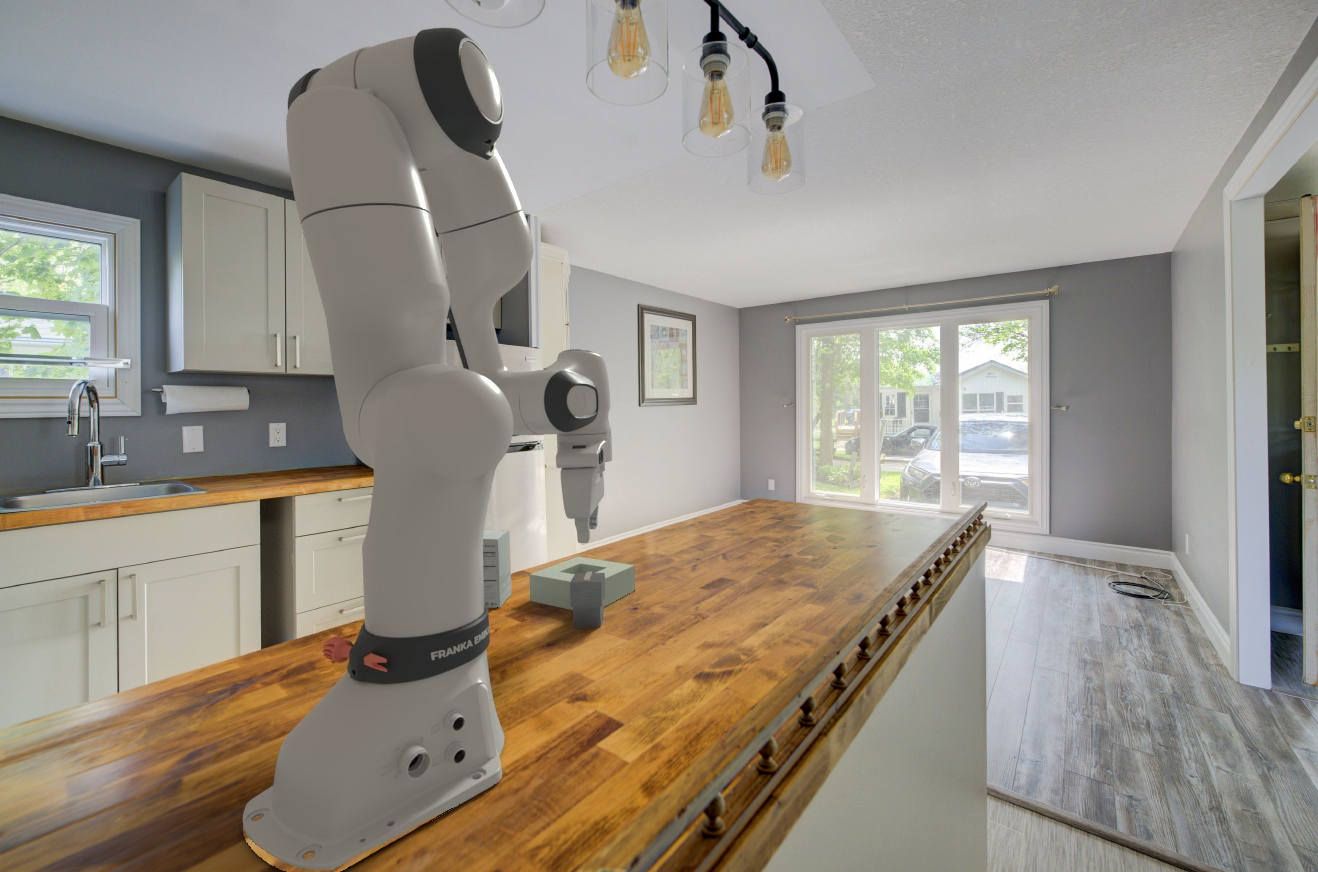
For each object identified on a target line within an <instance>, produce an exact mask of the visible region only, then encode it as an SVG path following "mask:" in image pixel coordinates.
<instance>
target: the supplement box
mask: <svg viewBox="0 0 1318 872" xmlns="http://www.w3.org/2000/svg"><path fill="white" fill-rule="evenodd" d="M510 536H511V535H510V530H508V529H507V530H506V529H488V530H487V529H486V530H485V529H484V534H483V583H484V605H485V606H486V607H487V608H488V609H499V608H501V607H502V606H503V604H504V603H505V602H506V601H507V600H508V599H509V598H510V597H511V595H512V569H511V567H512V566H511V543H510V542H511V541H510V538H511V537H510ZM497 607H498V608H497Z"/></svg>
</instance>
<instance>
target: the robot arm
mask: <svg viewBox="0 0 1318 872" xmlns="http://www.w3.org/2000/svg"><path fill="white" fill-rule="evenodd" d="M503 99H504V98H503V94H502V90H501V86H500V83H499V81H498V78H497V75H496V73H495V70H494V68H493V66H492V64H491V62H490V60H489V59H488V57H487V55H486V54H485V52H484V51H483V49H482V48H481V47H480V45H479V44H478V43H477V42H476V41H475V40H473V39H472V38H471V37H470V36H468V35H467V34H466V33H464V32H463V31H462V30H460V29H459V28H455V27H436V28H435V27H434V28H428V29H427V28H426V29H421V30H419V31H418V32H417V34H416V35H412V36H406V37H402V38H397V39H393V40H390V41H386V42H382V43H379V44H375V45H373V46H363V47H361V48H359V49H355V50H354V51H351V52H348V53H347V54H345V55H343V56H341V57H339V58H337V59H336V60H334V61H332V62H330V63H329V64H327V65H326V66H324V67H323V68H321V67H320V68H319V67H317V68H313V69H312V70H310V71H308V72H307V73H305V74H304V75H303V76H302V77H299V79H298V80H297V81H296V82H295V83H294V85H293V86H292V87H291V89H290V90H289V94H288V98H287V114H286V117H285V118H286V119H285V123H286V125H285V127H286V128H285V129H286V147H287V159H288V167H289V173H290V180H291V185H292V191H293V196H294V202H295V205H296V210H297V214H298V218H299V221H300V226H301V229H302V233H303V237H304V240H305V245H306V248H307V251H308V255H309V259H310V262H311V267H312V270H313V274H314V278H315V281H316V284H317V288H318V293H319V296H320V299H321V303H322V307H323V311H324V316H325V321H326V322H325V323H326V327H327V332H328V333H327V334H328V340H329V341H328V343H329V350H330V358H331V363H332V364H331V365H332V370H333V371H332V372H333V377H334V385H335V388H336V395H337V400H338V401H337V402H338V404H339V412H340V415H341V420H342V421H341V422H342V428H343V429H342V430H343V434H344V437H345V440H346V442H347V444H348V447H349V448H350V449H351V451H352V452H353V453H354V455H355V456H356V458H358V459H359V460H360V461H361V462H362V463H363V464H365V465H366V466H368V467H369V468H372V469H373V485H372V493H371V503H370V512H369V516H368V517H369V519H368V522H367V523H368V525H367V530H366V533H365V536H364V539H363V542H362V546H361V551H362V552H361V555H362V557H361V558H362V577H363V578H362V583H363V587H362V589H363V608H364V623H362V625H361V626H360V629H359V631H358V635H357V636H356V639H355V642H354V643H353V641H352V640H349V639H344V638H343V637H340V636H332V637H330V638H329V639H326V641H325V644H324V645H323V646H322V650H321V652H322V653H323V655H322V656H323V657H325V659H328V660H331V661H334V662H336V663H344V662H346V661H348V663H347V667H346V669H347V671H346V672H345V673H344V675H342V676H341V678H340V679H338V680H337V682H336V683H335V684H334V685H333V686H332V687H331V688H330V689H329V691H328V692H326V694H324V696H323V697H322V699H321V700H320V701H319V702H317V704H316V705H315V706H314V707H313V708H312V709H311V710H310V711H309V712H308V713H307V714H306V715H305V716H304V717H303V718H302V719H301V720H300V721H299V723H298V724H296V726H295V727H294V728H293V729H292V730H291V731H290V732H289V733H287V735H286V737H285V738H284V740H283V741H282V744H281V746H280V749H279V751H278V754H277V755H278V756H277V759H276V762H275V764H276V765H275V770H274V776H273V785H271V786H270V787H268V788H266V789H264V790H263V791H262V792H261V793H259V794H258V795H255V796H254V797H253V798H252V799H250V800H249V801H248V802H246V805H245V807H244V809H243V814H242V820H243V821H242V822H243V827H244V830H245V832H246V834H247V836H248V837H249V839H250V840H252V842H254V843H255V845H257V846H259V847H260V848H261V849H263V850H265V851H266V852H267V853H268V854H271V855H272V856H274V857H276V858H278V859H279V860H281V861H283V862H285V863H286V864H287V863H288V864H290V865H293V866H296V867H300V868H305V869H310V870H334V869H335V868H336V867H339V866H341V865H342V864H345V863H347V862H348V861H349V860H350V859H352V858H355V857H356V856H357V855H360V854H361V853H364V852H366V851H368V850H370V849H373V848H374V847H376V846H379V845H382V844H383V843H385V842H387V841H390V840H391V839H393V838H395V837H398V836H400V835H402V834H403V833H406V832H407V831H409V830H410V829H411V828H414V827H416V826H417V825H419V824H421V823H422V822H425V820H428V819H431V818H432V817H433V818H434V816H437V815H439V814H442V813H443V812H445V811H447V810H449V809H451V808H453V809H455V808H456V807H458V806H459V804H460V805H461V804H463V803H464V802H467V801H468V800H470V799H472V798H473V797H475V796H478V794H481V793H483V792H484V791H486V790H488V789H489V788H492V787H493V786H495V785H496V784H498V783H499V782H500V781H501V779H502V777H503V770H502V769H503V768H502V762H501V758H500V757H501V754H502V752H503V749H504V745H505V733H504V730H503V728H502V726H501V723H500V720H499V716H498V713H497V710H496V706H495V699H494V697H493V689H492V686H491V678H490V671H489V661H488V652H487V649H488V647H489V645H490V643H491V638H490V637H491V636H490V629H491V628H490V619H489V617H490V615H489V608H487V607H486V606H485V605H484V583H483V534H484V530H485V523H486V516H487V512H488V505H489V501H490V497H491V491H492V487H493V484H494V483H493V482H494V478H495V474H496V470H497V467H498V465H499V464H500V462H501V461H502V460H503V458H504V457H505V455H506V453H507V452H508V450H509V448H510V444H511V443H512V439H513V437H517V436H544V435H556V444H557V445H556V446H557V447H556V448H557V450H556V451H557V452H556V455H555V466H556V468H557V469H560V483H561V493H562V502H563V510H564V513H565V516H566V517H567V519H569V520H570V519H571V520H574V525H575V530H576V539H577V542H578V543H579V544H587V543H589V541H590V540H591V530H596V529H597V527H598V515H599V514H598V513H599V507H600V506H599V504H600V502H601V501H602V499H603V498H604V495H605V480H604V478H605V477H604V472H605V471H606V467H605V465H606V464H605V463H610V462H611V461H612V460H613V446H612V444H613V443H612V428H611V426H610V422H609V412H610V408H611V397H610V395H611V394H610V392H611V391H610V384H609V383H610V381H609V376H608V369H607V365H606V362H605V359H604V357H603V356H601V355H600V354H598V352H594V351H591V350H583V349H568V350H567V349H566V350H563V351H561V352H559V353H558V355H557V358H556V361H554V362H553V363H552V364H550V365H548V366H546V367H544V368H543V369H539V370H538V369H537V370H534V371H520V372H519V371H517V372H516V371H515V372H514V371H513V370H510V369H509V368H507V366H506V365H505V363H504V360H503V356H502V352H501V349H500V345H499V341H498V337H497V333H496V329H495V325H494V320H493V319H494V318H493V315H494V312H493V311H494V308H495V306H496V303H497V302H498V301H499V300H500V299H501V298H502V297H503V296H504V295H505V294H507V293H508V292H509V291H511V290H512V289H514V287H515V286H517V285H518V284H520V283H521V281H522V280H523V279H524V277H525V276H526V274H527V272H528V271H529V269H530V267H531V264H532V261H533V259H534V258H533V257H534V242H533V236H532V232H531V229H530V226H529V223H528V220H527V217H526V215H525V212H524V209H523V206H522V203H521V201H520V198H519V195H518V192H517V190H516V188H515V185H514V182H513V180H512V178H511V175H510V174H509V171H508V169H507V166H506V165H505V163H504V161H503V159H502V157H501V155H500V153H499V151H498V149H497V147H496V146H497V140H498V139H499V138H500V135H501V132H502V128H503V127H502V126H503V123H504V122H503V121H504V113H505V112H504V110H505V107H504V100H503ZM437 235H438V238H439V241H440V243H441V247H442V251H443V254H444V259H445V265H446V272H445V267H444V264H443V263H444V262H443V258H442V255H441V250H440V245H439V242H438V238H437ZM447 319H448V321H449V323H450V327H451V331H452V334H453V337H454V341H455V344H456V347H457V351H458V354H459V357H460V360H461V364H462V367H461V366H458V365H454V364H449V363H448V357H447V322H448V321H447ZM494 784H495V785H494ZM454 807H455V808H454ZM451 810H452V809H451ZM449 811H450V810H449ZM260 815H263V817H262V818H261V819H259V820H256V821H252V819H253V818H254V817H256V816H260ZM442 815H443V814H442ZM242 822H241V823H242ZM308 853H315V854H314V856H312V857H311V858H309V859H302V858H303V856H304V855H306V854H308Z"/></svg>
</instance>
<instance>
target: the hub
mask: <svg viewBox="0 0 1318 872" xmlns="http://www.w3.org/2000/svg"><path fill="white" fill-rule="evenodd" d="M591 571H592V573H605V598H604V601H603V608H605V607H607V606H609V605H611V604H613V603H614V602H617V601H619V600H620V598H621V599H623V598H625V597H626V596H628V595H630V594H632V593H633V592H632V591H634V590H635V591H636V567H635V565H634V564H627V563H622V562H615V561H609V560H604V559H603V560H602V559H596V558H588V557H582V556H576V557H574V558H571V559H568V560H565V561H561V562H560V563H556V564H554V565H551V566H549V567H545V568H542V569H540V570H537V571H534V572H532V573H529V576H528V577H529V601H530V602H533V603H538V604H541V605H547V606H553V607H556V608H561V609H566V610H571V611H573V607H571V600H570V582H571V580H572V578H573V576H574V575H575V573H587V572H591ZM635 591H634V592H635ZM631 592H632V593H631ZM629 593H630V594H629ZM627 594H628V595H627ZM625 595H626V596H625ZM622 597H623V598H622ZM618 599H619V600H618ZM616 600H617V601H616Z"/></svg>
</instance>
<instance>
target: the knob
mask: <svg viewBox="0 0 1318 872" xmlns="http://www.w3.org/2000/svg"><path fill="white" fill-rule="evenodd" d="M604 598H605V573H592V571H591V572H587V573H575V575H574V576H573V578H572V580H571V582H570V600H571V607H573V610H572V628H576V629H577V628H578V629H579V628H581V629H582V628H585V629H586V628H601V627H602V623H603V620H604V616H605V615H604V614H605V613H604V611H605V610H604V608H605V607H603V601H604Z"/></svg>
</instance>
